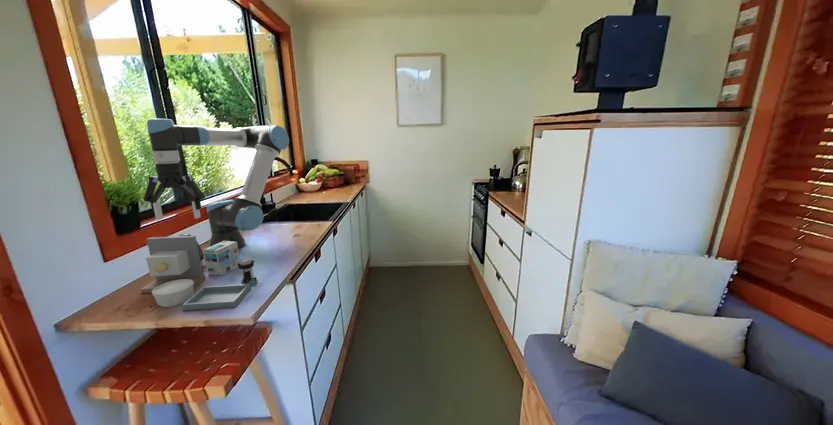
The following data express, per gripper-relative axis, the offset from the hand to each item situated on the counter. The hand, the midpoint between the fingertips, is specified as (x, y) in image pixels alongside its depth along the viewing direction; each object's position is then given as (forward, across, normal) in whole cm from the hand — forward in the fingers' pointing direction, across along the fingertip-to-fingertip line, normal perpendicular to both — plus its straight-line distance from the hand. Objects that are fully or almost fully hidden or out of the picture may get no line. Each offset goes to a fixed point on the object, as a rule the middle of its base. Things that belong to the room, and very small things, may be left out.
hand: (178, 218), depth 119 cm
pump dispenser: (+23, -2, +5) cm, 24 cm away
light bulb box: (+23, +12, +2) cm, 26 cm away
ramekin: (+23, +8, -22) cm, 33 cm away
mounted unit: (+23, 0, -10) cm, 25 cm away
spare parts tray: (+23, +23, -24) cm, 40 cm away
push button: (+23, +29, -14) cm, 40 cm away
